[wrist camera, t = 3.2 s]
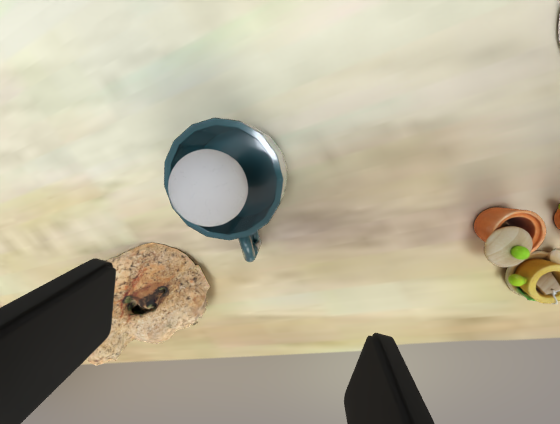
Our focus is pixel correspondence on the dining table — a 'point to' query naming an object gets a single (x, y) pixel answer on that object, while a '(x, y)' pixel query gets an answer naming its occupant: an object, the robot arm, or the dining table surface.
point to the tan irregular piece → (152, 298)
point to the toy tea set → (521, 251)
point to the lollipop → (208, 187)
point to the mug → (256, 165)
